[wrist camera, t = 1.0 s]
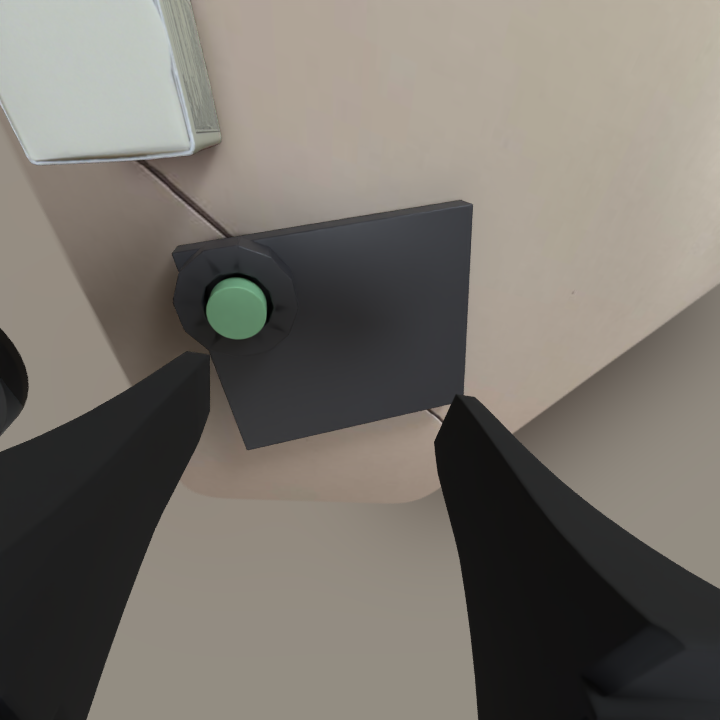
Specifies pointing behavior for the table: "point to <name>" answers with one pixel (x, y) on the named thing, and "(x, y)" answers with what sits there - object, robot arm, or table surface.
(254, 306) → the button
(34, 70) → the small box
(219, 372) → the scale
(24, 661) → the robot arm
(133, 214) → the table surface
